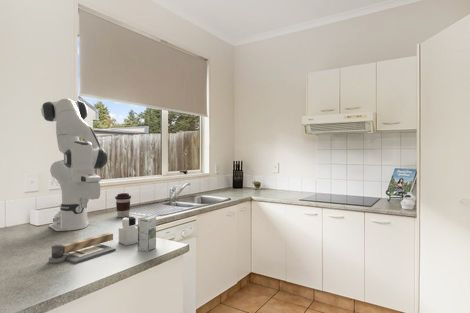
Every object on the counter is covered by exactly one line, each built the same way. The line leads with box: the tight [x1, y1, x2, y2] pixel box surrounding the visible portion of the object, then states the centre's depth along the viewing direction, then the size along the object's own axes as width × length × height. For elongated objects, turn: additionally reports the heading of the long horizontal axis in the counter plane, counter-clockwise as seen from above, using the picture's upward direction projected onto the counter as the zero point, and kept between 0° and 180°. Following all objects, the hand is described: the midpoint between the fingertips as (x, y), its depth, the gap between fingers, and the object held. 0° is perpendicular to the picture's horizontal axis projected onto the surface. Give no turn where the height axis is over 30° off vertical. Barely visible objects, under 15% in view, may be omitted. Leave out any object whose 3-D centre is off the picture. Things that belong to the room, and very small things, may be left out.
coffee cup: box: [114, 192, 132, 218], centre depth 197 cm, size 10×10×15 cm
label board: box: [48, 243, 117, 265], centre depth 124 cm, size 16×23×2 cm
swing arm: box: [51, 232, 114, 258], centre depth 127 cm, size 26×4×4 cm, turn 148°
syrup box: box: [137, 215, 157, 252], centre depth 132 cm, size 6×6×14 cm
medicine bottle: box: [118, 216, 138, 246], centre depth 141 cm, size 7×7×12 cm
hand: (83, 207), depth 132 cm, fingers closed
